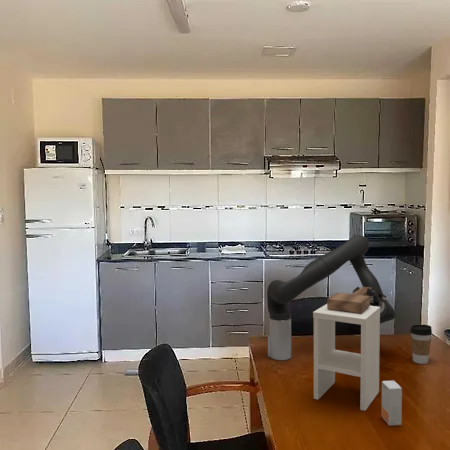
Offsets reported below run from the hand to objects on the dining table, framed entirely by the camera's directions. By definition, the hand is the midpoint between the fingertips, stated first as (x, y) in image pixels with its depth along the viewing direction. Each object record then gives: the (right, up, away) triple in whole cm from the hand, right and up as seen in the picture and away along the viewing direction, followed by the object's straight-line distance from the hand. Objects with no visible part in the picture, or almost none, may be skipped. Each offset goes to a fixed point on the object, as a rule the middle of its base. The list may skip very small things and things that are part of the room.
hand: (362, 289), depth 185 cm
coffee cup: (+30, -33, +19) cm, 48 cm away
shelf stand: (-9, -36, -12) cm, 39 cm away
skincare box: (0, -37, -31) cm, 49 cm away
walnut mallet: (-4, -3, -6) cm, 8 cm away
